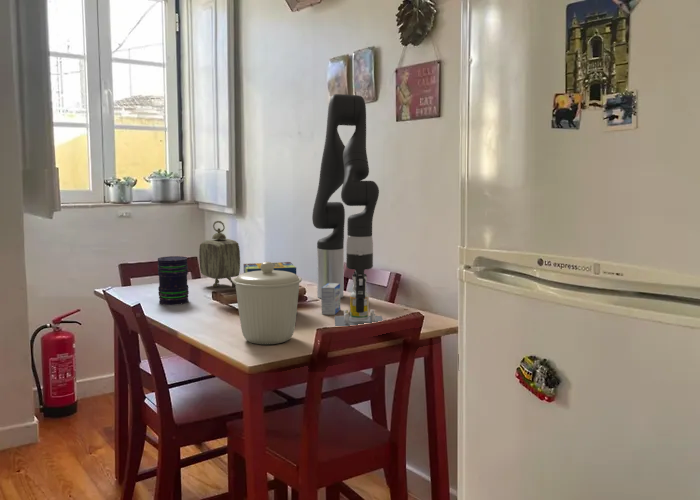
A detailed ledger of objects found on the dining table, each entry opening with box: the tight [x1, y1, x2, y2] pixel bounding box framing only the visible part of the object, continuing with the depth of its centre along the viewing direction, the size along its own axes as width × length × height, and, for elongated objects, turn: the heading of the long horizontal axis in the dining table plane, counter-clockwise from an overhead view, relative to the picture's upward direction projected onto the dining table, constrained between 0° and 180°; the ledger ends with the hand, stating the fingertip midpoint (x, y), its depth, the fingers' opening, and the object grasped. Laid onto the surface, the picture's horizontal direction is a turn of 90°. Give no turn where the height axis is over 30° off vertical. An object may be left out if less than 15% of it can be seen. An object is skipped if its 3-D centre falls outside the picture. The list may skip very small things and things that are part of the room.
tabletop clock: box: [198, 220, 241, 288], centre depth 255 cm, size 14×9×25 cm, turn 46°
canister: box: [232, 261, 303, 345], centre depth 179 cm, size 18×18×21 cm
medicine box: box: [320, 283, 341, 316], centre depth 213 cm, size 8×4×9 cm, turn 168°
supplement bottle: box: [349, 284, 370, 320], centre depth 193 cm, size 5×5×10 cm
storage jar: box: [157, 255, 190, 306], centre depth 227 cm, size 10×10×15 cm
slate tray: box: [334, 309, 384, 327], centre depth 193 cm, size 16×14×4 cm
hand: (359, 309), depth 193 cm, fingers closed on supplement bottle, 5 cm apart
